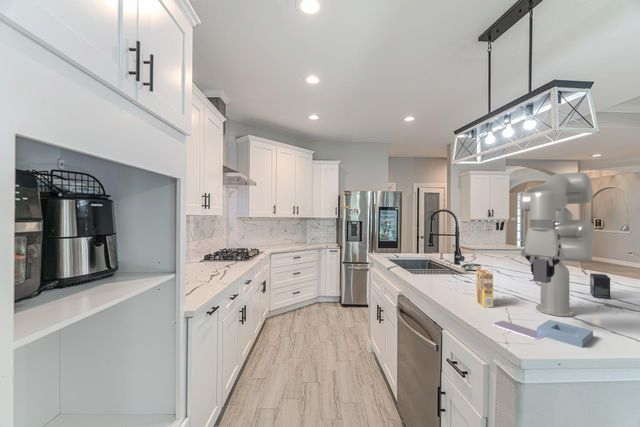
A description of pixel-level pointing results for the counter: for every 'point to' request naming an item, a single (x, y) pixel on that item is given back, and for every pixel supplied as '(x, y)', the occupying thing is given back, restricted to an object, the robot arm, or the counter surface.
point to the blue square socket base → (565, 333)
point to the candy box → (485, 288)
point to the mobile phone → (518, 330)
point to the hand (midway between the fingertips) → (542, 274)
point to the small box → (600, 286)
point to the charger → (540, 270)
